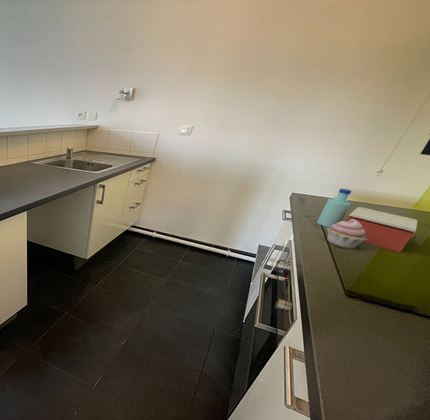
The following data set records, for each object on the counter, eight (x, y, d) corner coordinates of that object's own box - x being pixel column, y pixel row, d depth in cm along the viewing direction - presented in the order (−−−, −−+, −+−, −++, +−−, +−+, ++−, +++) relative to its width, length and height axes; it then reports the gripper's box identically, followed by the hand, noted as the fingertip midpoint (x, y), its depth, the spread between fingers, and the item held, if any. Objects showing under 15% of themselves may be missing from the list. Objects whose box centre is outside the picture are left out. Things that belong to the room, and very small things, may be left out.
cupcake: (315, 236, 90) (328, 211, 86) (349, 242, 86) (364, 217, 82) (328, 248, 82) (343, 221, 78) (366, 255, 78) (384, 228, 74)
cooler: (398, 254, 80) (413, 233, 77) (337, 236, 91) (348, 217, 87) (402, 241, 89) (416, 222, 86) (346, 226, 100) (357, 208, 97)
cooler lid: (414, 232, 76) (416, 229, 76) (349, 215, 87) (350, 213, 86) (416, 221, 86) (417, 219, 86) (357, 208, 97) (358, 206, 97)
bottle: (334, 226, 99) (354, 189, 93) (338, 231, 95) (360, 193, 89) (314, 222, 103) (332, 186, 96) (317, 226, 98) (337, 189, 92)
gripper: (501, 75, 69) (445, 157, 79) (495, 80, 76) (445, 155, 85) (454, 76, 75) (407, 153, 84) (452, 81, 82) (409, 152, 91)
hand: (426, 154), depth 85 cm, fingers closed
